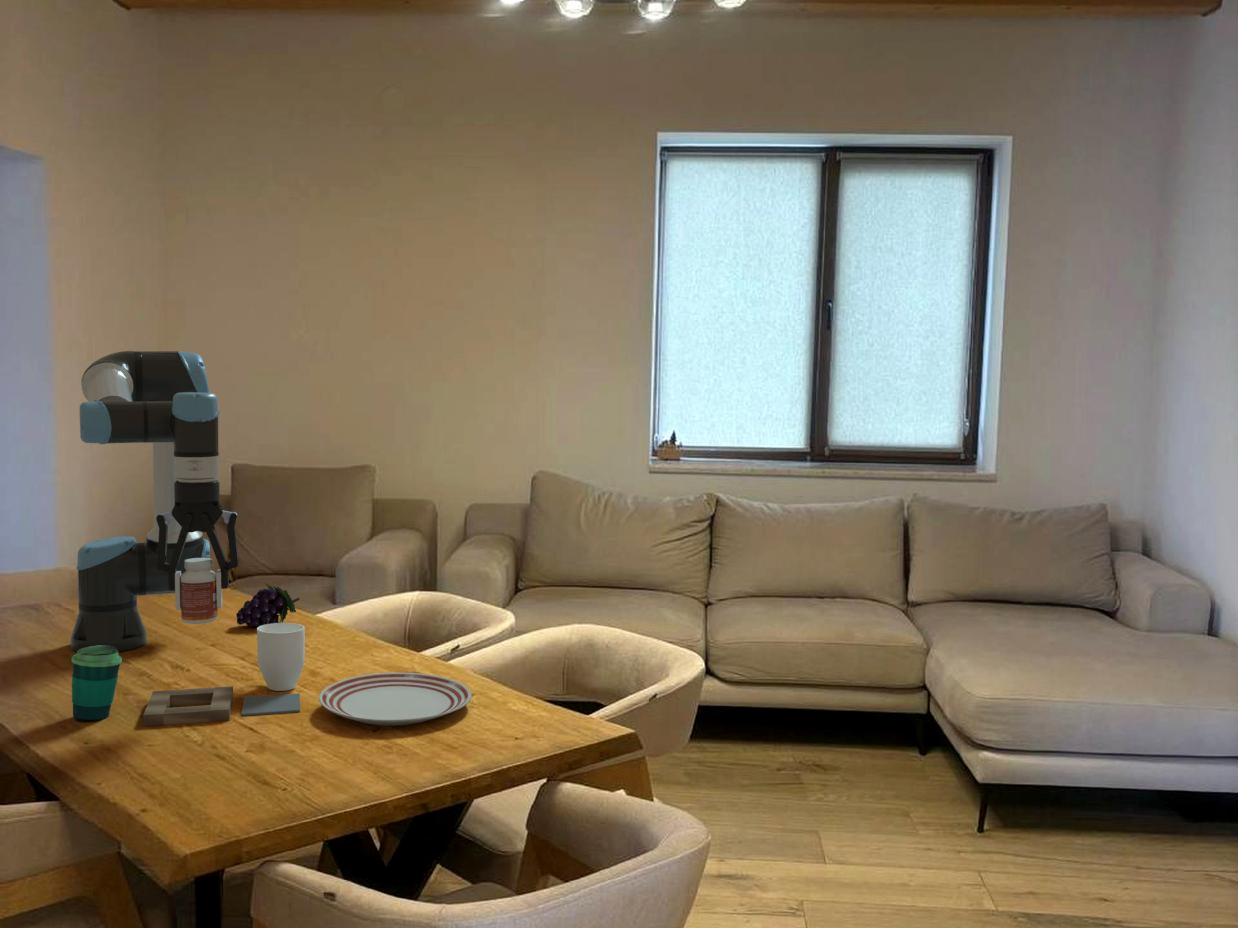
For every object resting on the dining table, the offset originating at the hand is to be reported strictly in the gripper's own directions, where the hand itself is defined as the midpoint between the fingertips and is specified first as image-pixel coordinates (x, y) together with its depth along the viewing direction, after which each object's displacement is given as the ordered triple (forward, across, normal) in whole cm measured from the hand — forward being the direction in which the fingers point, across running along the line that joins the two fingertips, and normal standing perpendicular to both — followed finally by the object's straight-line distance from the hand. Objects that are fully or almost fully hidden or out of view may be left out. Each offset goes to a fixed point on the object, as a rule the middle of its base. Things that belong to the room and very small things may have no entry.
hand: (199, 607), depth 198 cm
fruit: (+19, +9, +62) cm, 66 cm away
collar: (+19, -2, 0) cm, 19 cm away
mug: (+19, +13, +12) cm, 26 cm away
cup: (+19, -17, 0) cm, 26 cm away
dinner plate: (+20, +34, -6) cm, 40 cm away
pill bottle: (+3, 0, 0) cm, 3 cm away
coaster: (+19, +12, 0) cm, 23 cm away
